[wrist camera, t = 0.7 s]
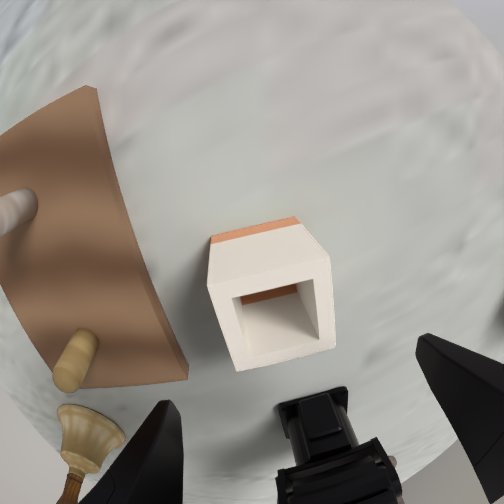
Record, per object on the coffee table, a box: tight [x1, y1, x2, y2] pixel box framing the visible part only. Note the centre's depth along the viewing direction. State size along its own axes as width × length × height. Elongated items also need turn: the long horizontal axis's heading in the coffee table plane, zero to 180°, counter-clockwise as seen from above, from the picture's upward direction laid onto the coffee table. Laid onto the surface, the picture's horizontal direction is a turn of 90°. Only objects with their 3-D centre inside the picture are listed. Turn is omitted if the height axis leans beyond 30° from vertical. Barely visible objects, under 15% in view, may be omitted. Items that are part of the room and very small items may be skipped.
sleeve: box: [207, 217, 336, 372], centre depth 15 cm, size 5×5×6 cm
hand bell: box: [56, 404, 125, 504], centre depth 16 cm, size 8×8×16 cm
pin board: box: [0, 85, 189, 393], centre depth 13 cm, size 20×12×6 cm, turn 12°
